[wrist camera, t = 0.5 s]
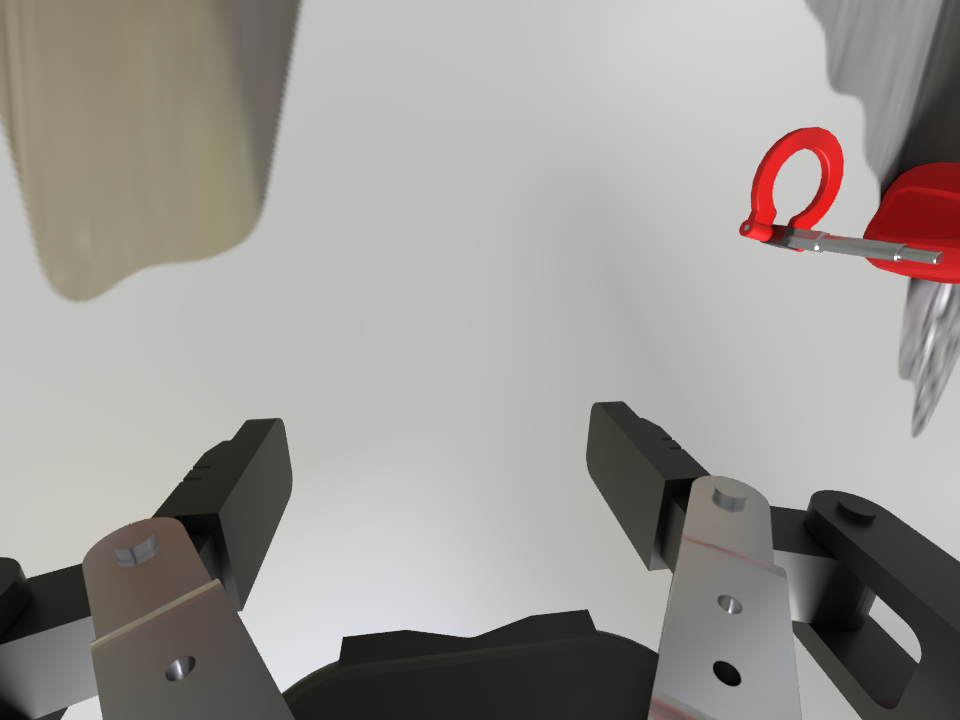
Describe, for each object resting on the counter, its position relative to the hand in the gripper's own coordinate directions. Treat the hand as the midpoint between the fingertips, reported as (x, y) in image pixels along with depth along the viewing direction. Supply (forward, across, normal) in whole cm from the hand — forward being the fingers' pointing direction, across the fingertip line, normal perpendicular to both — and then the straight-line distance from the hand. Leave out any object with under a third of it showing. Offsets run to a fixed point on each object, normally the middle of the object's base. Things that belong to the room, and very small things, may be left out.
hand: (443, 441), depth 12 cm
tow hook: (+26, -31, -7) cm, 41 cm away
